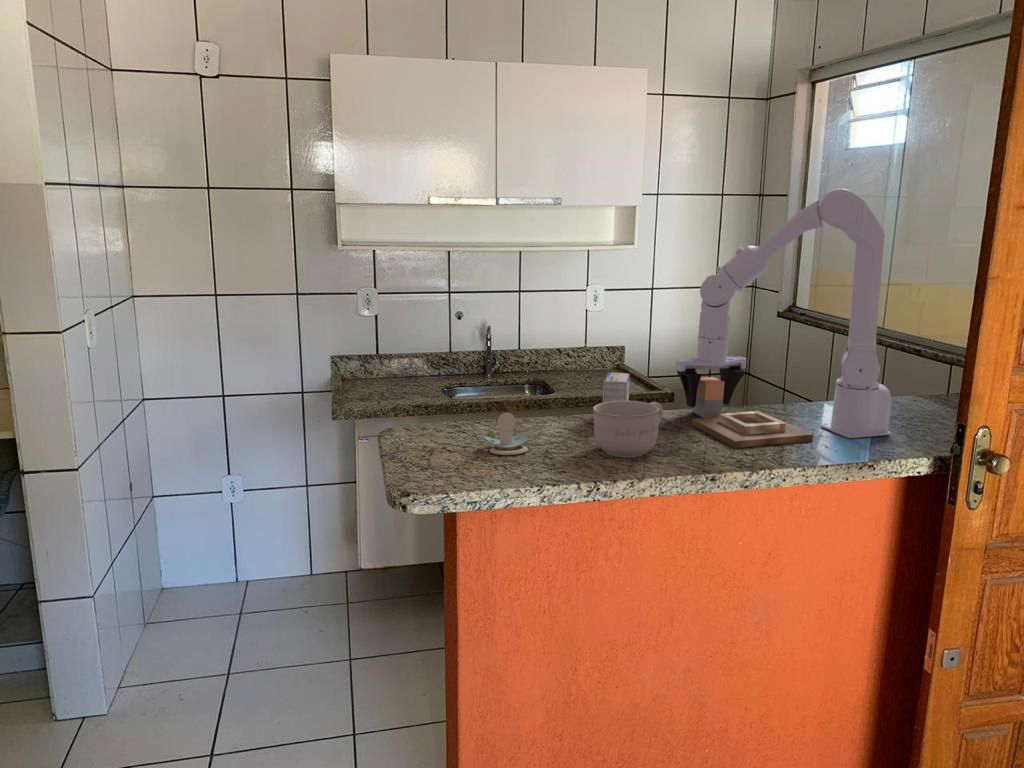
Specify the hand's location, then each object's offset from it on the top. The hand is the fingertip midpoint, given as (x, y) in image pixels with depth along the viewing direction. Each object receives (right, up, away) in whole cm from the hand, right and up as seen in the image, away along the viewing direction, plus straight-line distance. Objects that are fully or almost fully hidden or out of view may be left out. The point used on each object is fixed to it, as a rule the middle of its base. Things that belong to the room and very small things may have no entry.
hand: (707, 404), depth 150 cm
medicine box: (-19, -3, -5) cm, 20 cm away
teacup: (-19, -7, -23) cm, 30 cm away
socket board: (+5, -5, -11) cm, 13 cm away
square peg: (0, -2, 0) cm, 2 cm away
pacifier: (-39, -7, -24) cm, 47 cm away
